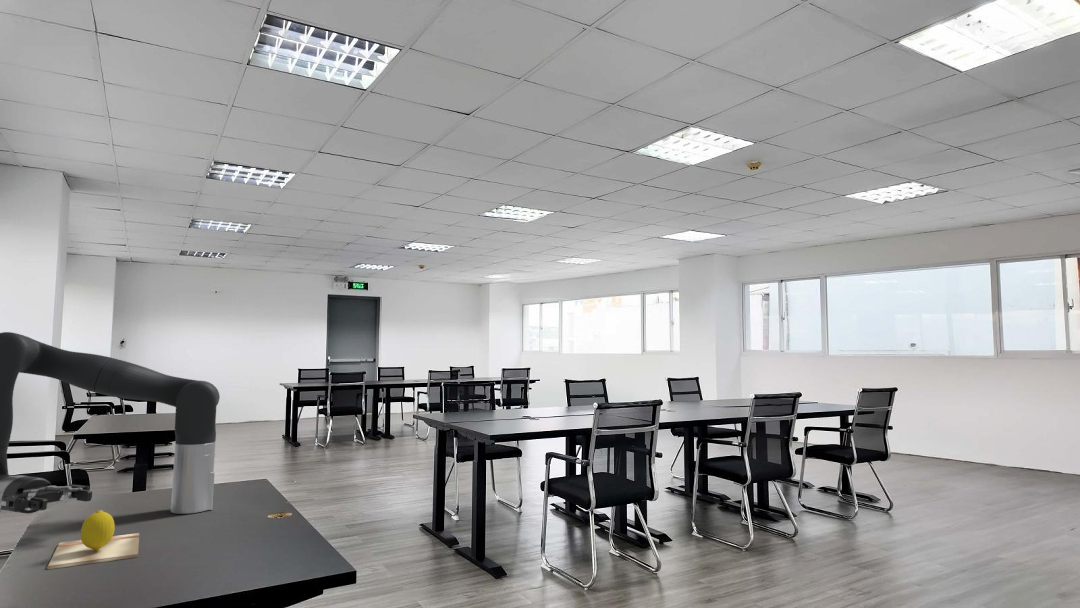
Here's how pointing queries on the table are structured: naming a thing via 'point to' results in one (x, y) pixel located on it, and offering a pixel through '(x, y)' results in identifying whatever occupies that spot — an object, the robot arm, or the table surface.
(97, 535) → the lemon
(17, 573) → the table surface
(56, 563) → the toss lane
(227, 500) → the table surface
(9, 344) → the robot arm
